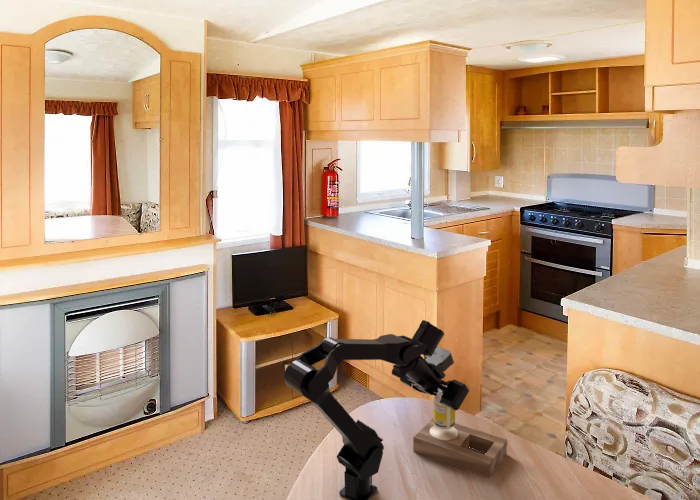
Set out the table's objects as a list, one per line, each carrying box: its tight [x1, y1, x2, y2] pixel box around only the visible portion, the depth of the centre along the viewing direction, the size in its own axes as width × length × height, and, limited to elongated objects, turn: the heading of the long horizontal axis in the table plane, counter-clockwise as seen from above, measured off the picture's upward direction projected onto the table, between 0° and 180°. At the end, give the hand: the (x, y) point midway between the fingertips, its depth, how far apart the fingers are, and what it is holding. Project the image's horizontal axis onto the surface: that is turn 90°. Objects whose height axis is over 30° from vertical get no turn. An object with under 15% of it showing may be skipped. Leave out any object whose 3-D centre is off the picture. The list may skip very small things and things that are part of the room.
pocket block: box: [412, 417, 508, 480], centre depth 134 cm, size 12×20×4 cm, turn 54°
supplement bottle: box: [433, 389, 456, 429], centre depth 135 cm, size 5×5×10 cm
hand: (448, 398), depth 135 cm, fingers closed on supplement bottle, 5 cm apart
